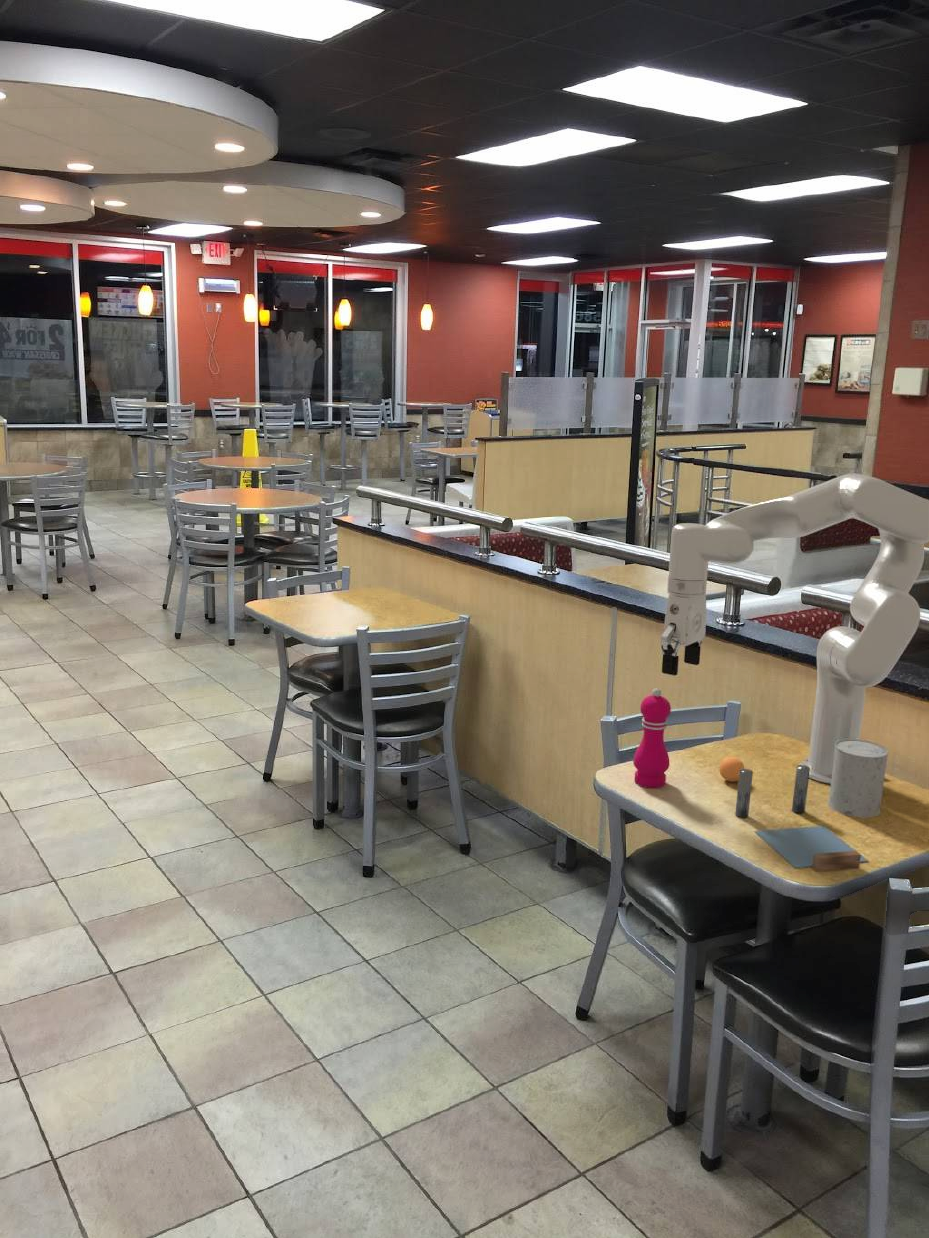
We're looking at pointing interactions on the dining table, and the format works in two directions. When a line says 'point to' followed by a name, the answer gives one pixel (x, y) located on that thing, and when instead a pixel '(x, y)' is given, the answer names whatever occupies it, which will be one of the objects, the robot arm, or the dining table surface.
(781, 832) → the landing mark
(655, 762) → the pepper mill
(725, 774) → the ball
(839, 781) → the speckled stone cylinder
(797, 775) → the post
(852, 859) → the wall
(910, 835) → the dining table surface
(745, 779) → the post
